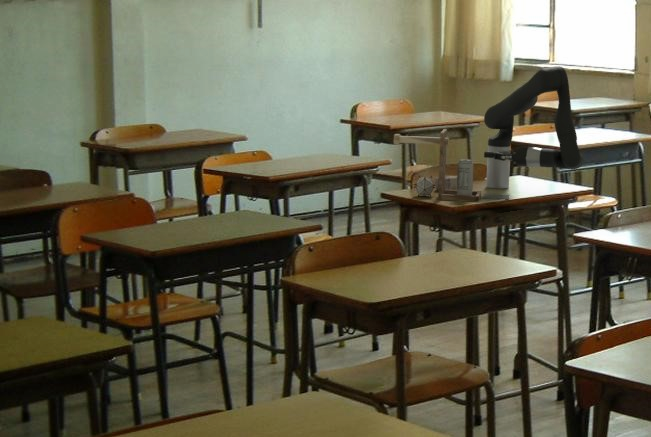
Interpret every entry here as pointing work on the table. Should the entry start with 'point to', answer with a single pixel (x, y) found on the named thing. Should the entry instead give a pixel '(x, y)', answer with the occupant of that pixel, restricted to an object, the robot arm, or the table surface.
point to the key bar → (418, 140)
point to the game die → (424, 186)
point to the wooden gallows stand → (442, 192)
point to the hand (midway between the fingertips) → (484, 154)
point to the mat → (496, 196)
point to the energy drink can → (465, 177)
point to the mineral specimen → (448, 182)
